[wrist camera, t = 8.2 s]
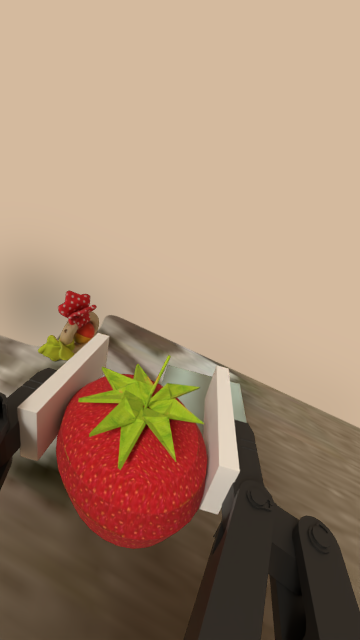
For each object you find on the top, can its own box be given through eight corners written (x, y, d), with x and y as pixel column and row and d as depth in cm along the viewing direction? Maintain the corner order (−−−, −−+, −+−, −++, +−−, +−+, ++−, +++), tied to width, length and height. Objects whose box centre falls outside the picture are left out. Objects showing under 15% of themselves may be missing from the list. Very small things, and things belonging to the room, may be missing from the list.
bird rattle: (65, 354, 40) (23, 360, 31) (85, 293, 40) (49, 281, 31) (97, 366, 39) (63, 376, 30) (118, 304, 39) (90, 295, 30)
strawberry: (126, 433, 17) (150, 309, 13) (202, 534, 12) (273, 391, 9) (34, 485, 13) (29, 324, 9) (99, 664, 8) (146, 499, 4)
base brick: (141, 456, 24) (149, 421, 22) (160, 393, 33) (167, 364, 31) (234, 482, 24) (251, 449, 22) (228, 411, 33) (239, 384, 31)
